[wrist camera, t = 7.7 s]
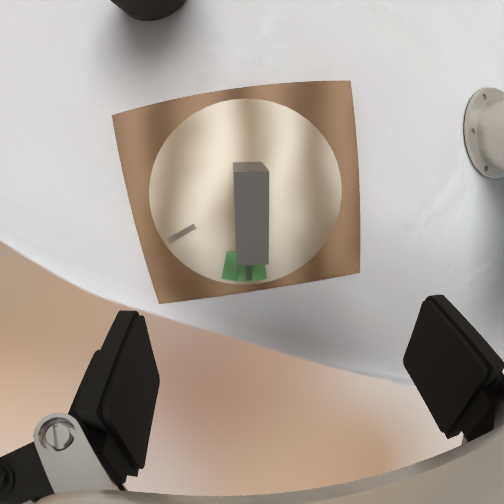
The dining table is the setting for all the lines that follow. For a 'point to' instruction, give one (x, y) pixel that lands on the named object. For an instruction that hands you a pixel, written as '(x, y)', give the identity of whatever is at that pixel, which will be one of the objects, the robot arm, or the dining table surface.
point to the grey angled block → (251, 214)
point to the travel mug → (149, 8)
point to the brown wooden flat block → (221, 185)
